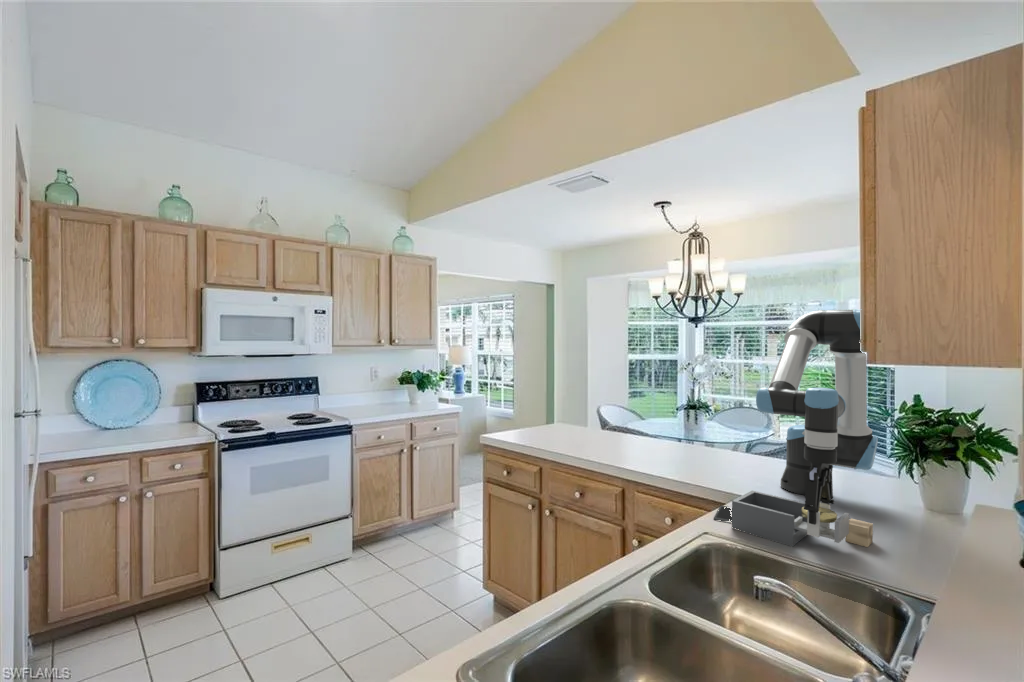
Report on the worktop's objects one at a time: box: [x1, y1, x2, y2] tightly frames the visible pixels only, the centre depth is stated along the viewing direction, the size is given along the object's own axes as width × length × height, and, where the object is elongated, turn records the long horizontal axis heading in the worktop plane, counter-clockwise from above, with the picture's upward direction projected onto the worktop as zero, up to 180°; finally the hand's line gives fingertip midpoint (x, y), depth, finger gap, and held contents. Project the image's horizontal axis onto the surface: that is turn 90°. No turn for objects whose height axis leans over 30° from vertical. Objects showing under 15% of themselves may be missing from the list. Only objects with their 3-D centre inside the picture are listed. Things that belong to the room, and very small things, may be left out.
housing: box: [731, 490, 808, 547], centre depth 142 cm, size 14×16×8 cm
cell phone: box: [713, 505, 732, 522], centre depth 153 cm, size 7×14×1 cm, turn 149°
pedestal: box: [845, 517, 874, 548], centre depth 134 cm, size 5×5×5 cm
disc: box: [802, 507, 838, 524], centre depth 132 cm, size 8×8×2 cm
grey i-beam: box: [794, 512, 850, 544], centre depth 133 cm, size 9×14×5 cm, turn 42°
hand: (818, 531), depth 132 cm, fingers closed on disc, 8 cm apart
